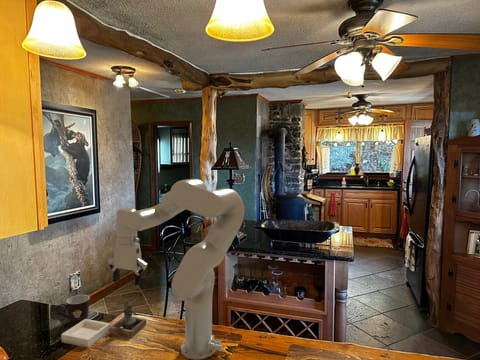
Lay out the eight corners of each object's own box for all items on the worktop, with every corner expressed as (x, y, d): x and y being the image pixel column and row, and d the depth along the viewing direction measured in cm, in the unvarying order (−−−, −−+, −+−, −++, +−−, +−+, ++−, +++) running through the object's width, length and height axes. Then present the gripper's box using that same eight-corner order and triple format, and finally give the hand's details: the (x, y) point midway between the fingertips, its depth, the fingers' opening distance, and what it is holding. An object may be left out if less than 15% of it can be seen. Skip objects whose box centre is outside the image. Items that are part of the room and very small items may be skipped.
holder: (146, 325, 133) (146, 319, 133) (131, 338, 123) (131, 331, 123) (125, 321, 135) (125, 315, 135) (109, 333, 126) (109, 327, 126)
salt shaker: (131, 334, 126) (130, 304, 125) (117, 332, 127) (117, 302, 126) (138, 326, 132) (138, 297, 131) (125, 324, 133) (125, 296, 132)
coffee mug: (94, 318, 138) (93, 295, 137) (82, 328, 129) (81, 304, 128) (68, 316, 139) (67, 293, 138) (55, 327, 130) (54, 302, 130)
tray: (110, 330, 128) (110, 323, 128) (88, 347, 117) (88, 339, 116) (85, 325, 131) (85, 318, 131) (61, 342, 120) (61, 334, 120)
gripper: (151, 239, 128) (151, 281, 129) (114, 235, 133) (114, 276, 134) (140, 244, 121) (140, 289, 122) (101, 240, 125) (102, 283, 127)
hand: (127, 282), depth 128 cm, fingers open, 9 cm apart
